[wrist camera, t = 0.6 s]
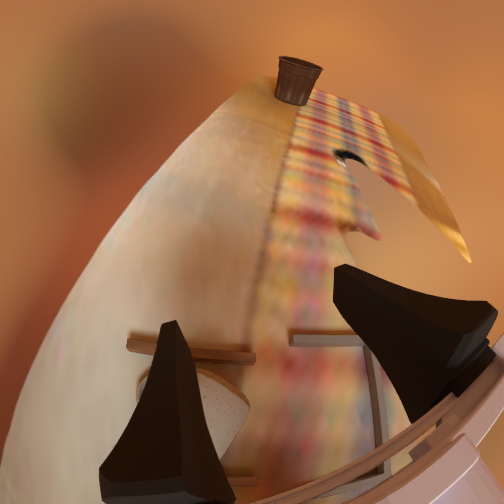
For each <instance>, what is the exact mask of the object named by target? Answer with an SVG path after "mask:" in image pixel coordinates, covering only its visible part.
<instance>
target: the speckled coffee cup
mask: <svg viewBox="0 0 504 504" xmlns="http://www.w3.org/2000/svg"><path fill="white" fill-rule="evenodd" d="M196 371H197V377H198V383H199V388H200V394H201V399H202V405H203V410H204V415H205V419H206V423H207V426H208V429H209V432H210V435H211V438H212V441H213V444H214V447H215V450H216V452H217V455H218V458H219V460H220V459H221V457H222V456H223V455H224V453H225V452H226V450H227V449H228V447H229V446H230V444H231V442H232V441H233V439H234V437H235V436H236V434H237V433H238V431H239V430H240V428H241V427H242V425H243V424H244V422H245V420H246V418H247V415H248V413H249V410H250V404H249V401H248V399H247V398H246V396H245V395H244V394H243V393H242V392H241V391H240V390H239V389H237V388H236V387H235V386H233V385H232V384H231V383H229V382H228V381H226V380H225V379H223V378H221V377H219V376H217V375H216V374H214V373H212V372H210V371H207V370H204V369H200V368H196ZM147 377H148V376H146V377H145V378H144V379H143V380H142V381H141V383H140V384H139V386H138V388H137V390H136V401H137V404H138V402H139V399H140V397H141V394H142V392H143V389H144V386H145V384H146V381H147Z"/></svg>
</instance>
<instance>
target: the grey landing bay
mask: <svg viewBox="0 0 504 504" xmlns="http://www.w3.org/2000/svg"><path fill="white" fill-rule="evenodd" d="M289 341H290V347H344V346H363V347H364V353H365V359H366V365H367V372H368V379H369V386H370V393H371V401H372V410H373V419H374V430H375V443H376V448H378V447H379V446H381V445H383V444H384V443H386V442H387V441H389V434H388V423H387V414H386V406H385V398H384V391H383V384H382V377H381V371H380V365H379V361H378V360H377V358H376V357H375V355H374V354H373V353H372V351H371V350H370V349H369V348H368V346H367V345H366V344H365V343H364V342H363V341H362V339H361V338H360V337H359V336H358V335H300V334H293V335H292V336H291V338H290V339H289ZM390 476H391V464H390V458H389V459H388V460H386V461H385V462H383V463H381V464H380V465H378V466H377V473H376V474H373V475H370V476H366V477H363V478H359V479H356V480H352V481H350V482H348V483H346V484H344V485H342V486H340V487H338V488H336V489H334V490H332V491H330V492H327V493H325V494H323V495H321V496H318V497H316V498H314V499H318V498H323V497H327V496H332V495H336V494H340V493H344V492H348V491H352V490H356V489H359V488H362V487H366V486H369V485H372V484H375V483H378V482H381V481H384V480H385V479H387V478H389V477H390ZM311 500H312V499H311Z"/></svg>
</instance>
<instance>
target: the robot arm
mask: <svg viewBox="0 0 504 504" xmlns="http://www.w3.org/2000/svg"><path fill="white" fill-rule="evenodd" d="M333 302H334V304H335V306H336V307H337V309H338V311H339V312H340V314H341V315H342V317H343V318H344V319H345V321H346V322H347V323H348V324H349V325H350V326H351V328H352V329H353V330H354V331H355V332H356V334H357V335H358V336H359V337H360V338H361V339H362V341H363V342H364V343H365V344H366V345H367V346H368V348H369V349H370V350H371V351H372V353H373V354H374V355H375V357H376V358H377V360H378V361H379V363H380V364H381V366H382V367H383V369H384V371H385V372H386V374H387V376H388V377H389V379H390V381H391V383H392V384H393V386H394V388H395V390H396V392H397V394H398V396H399V398H400V400H401V402H402V404H403V407H404V409H405V411H406V413H407V416H408V418H409V421H410V422H411V424H412V425H411V426H409V427H408V428H406V429H405V430H404V431H402V432H401V433H399V434H398V435H396V436H395V437H393V438H392V439H390V440H389V441H387V442H386V443H384V444H383V445H381V446H379V447H378V448H376V449H375V450H373V451H371V452H370V453H368V454H366V455H364V456H363V457H361V458H359V459H357V460H355V461H354V462H352V463H350V464H348V465H346V466H344V467H342V468H340V469H338V470H336V471H334V472H332V473H330V474H328V475H326V476H323V477H321V478H319V479H317V480H314V481H312V482H310V483H307V484H305V485H302V486H300V487H297V488H295V489H292V490H289V491H286V492H284V493H281V494H278V495H275V496H272V497H269V498H265V499H262V500H259V501H255V502H252V503H248V504H301V503H304V502H306V501H309V500H311V499H314V498H316V497H318V496H321V495H323V494H325V493H327V492H330V491H332V490H334V489H336V488H338V487H340V486H342V485H344V484H346V483H348V482H350V481H352V480H354V479H356V478H357V477H359V476H361V475H363V474H365V473H366V472H368V471H370V470H371V469H373V468H375V467H376V466H378V465H380V464H381V463H383V462H385V461H386V460H388V459H389V458H391V457H392V456H394V455H395V454H397V453H398V452H400V451H401V450H402V449H404V448H405V447H407V446H408V445H409V444H411V443H412V442H414V441H415V440H416V439H418V438H419V437H420V436H421V435H423V434H424V433H425V432H426V431H428V430H429V429H430V428H431V427H432V426H434V425H435V424H436V423H437V424H436V429H435V430H434V431H433V432H431V434H429V435H428V436H427V437H425V438H424V440H422V441H421V442H420V443H419V444H418V445H417V446H416V447H414V448H413V449H412V450H411V451H409V455H410V456H411V458H412V459H413V461H412V462H411V463H409V464H408V465H406V466H405V467H404V468H402V469H401V470H399V471H398V472H396V473H395V474H393V475H392V476H390V477H389V478H387V479H385V480H384V481H382V482H381V483H379V484H377V485H376V486H374V487H372V488H370V489H369V490H367V491H365V492H363V493H361V494H360V495H358V496H356V497H354V498H352V499H350V500H348V501H346V502H344V503H342V504H504V490H503V488H502V487H501V485H500V484H499V483H498V481H497V480H496V478H495V477H494V476H493V474H492V473H491V472H490V470H489V469H488V467H487V466H486V465H485V463H484V462H483V461H482V459H481V458H480V451H479V450H478V449H477V445H478V444H479V443H480V442H481V440H482V439H483V438H484V436H485V435H486V434H487V432H488V431H489V430H490V428H491V427H492V425H493V424H494V423H495V421H496V420H497V418H498V417H499V415H500V414H501V412H502V411H503V409H504V333H503V334H502V335H501V337H500V338H499V339H498V340H497V341H496V343H495V344H494V346H492V348H490V347H489V346H488V345H489V342H490V341H489V340H488V339H487V338H486V337H487V335H488V333H489V331H490V330H491V328H492V326H493V324H494V322H495V320H496V318H497V315H498V311H497V310H496V309H495V308H494V307H493V306H492V305H491V304H489V303H488V302H487V301H466V300H456V299H448V298H443V297H437V296H433V295H428V294H425V293H421V292H417V291H414V290H411V289H407V288H405V287H402V286H399V285H396V284H394V283H391V282H388V281H386V280H384V279H381V278H379V277H377V276H374V275H372V274H370V273H367V272H365V271H363V270H360V269H358V268H356V267H353V266H350V265H348V264H343V265H340V266H338V267H335V268H334V289H333ZM99 482H100V490H101V498H102V501H103V502H104V503H106V504H234V503H235V501H236V497H235V495H234V493H233V490H232V488H231V486H230V484H229V482H228V479H227V477H226V475H225V472H224V470H223V468H222V465H221V463H220V460H219V458H218V455H217V452H216V450H215V447H214V444H213V441H212V438H211V435H210V432H209V429H208V426H207V423H206V419H205V415H204V410H203V405H202V399H201V394H200V388H199V383H198V377H197V371H196V368H195V364H194V361H193V357H192V354H191V350H190V348H189V346H188V344H187V342H186V340H185V338H184V336H183V334H182V332H181V329H180V327H179V325H178V323H177V321H176V320H174V321H170V322H167V323H163V324H162V325H161V328H160V333H159V338H158V342H157V346H156V350H155V354H154V358H153V361H152V365H151V368H150V371H149V374H148V377H147V381H146V384H145V386H144V389H143V392H142V394H141V397H140V399H139V402H138V404H137V406H136V408H135V411H134V413H133V415H132V417H131V419H130V421H129V423H128V425H127V427H126V428H125V430H124V432H123V434H122V435H121V437H120V439H119V440H118V442H117V444H116V445H115V447H114V448H113V450H112V451H111V453H110V454H109V455H108V457H107V458H106V460H105V461H104V462H103V464H102V465H101V466H100V468H99Z"/></svg>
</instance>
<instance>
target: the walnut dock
mask: <svg viewBox="0 0 504 504" xmlns="http://www.w3.org/2000/svg"><path fill="white" fill-rule="evenodd" d="M156 346H157V343H152V342H145V341H139V340H133V339H127V345H126V348H127V349H128V351H130V352H136V353H142V354H148V355H154V354H155V350H156ZM190 350H191V354H192V357H193V361H201V362H212V363H224V364H239V365H254V363H255V362H256V353H245V352H230V351H218V350H207V349H197V348H190ZM226 477H227V479H228V482H229V484H230V486H257V477H256V476H226Z"/></svg>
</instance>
